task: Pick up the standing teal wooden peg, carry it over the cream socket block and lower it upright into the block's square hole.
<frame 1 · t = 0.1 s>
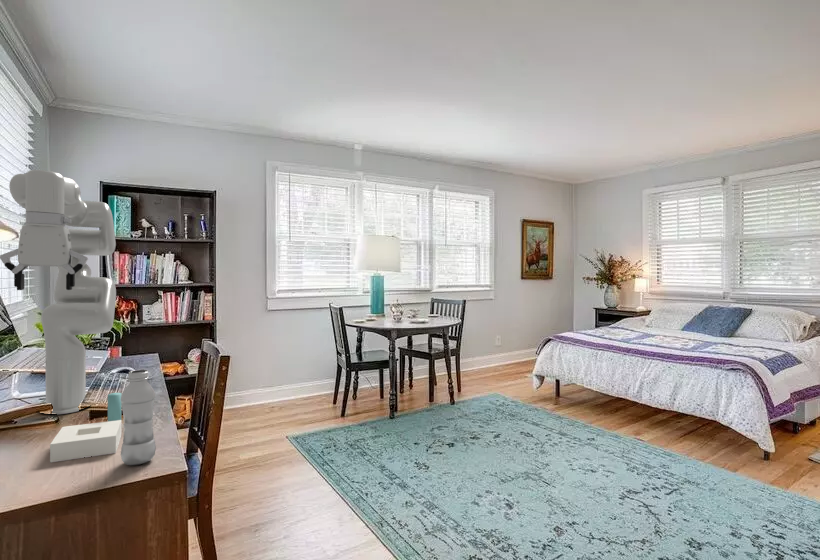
hand: (45, 289, 113), 37 cm above the table, tool pointing down, fingers open, 9 cm apart
hole block: (88, 448, 106), on the table
peg: (114, 430, 117), on the table
plastic bottle: (138, 463, 98), on the table
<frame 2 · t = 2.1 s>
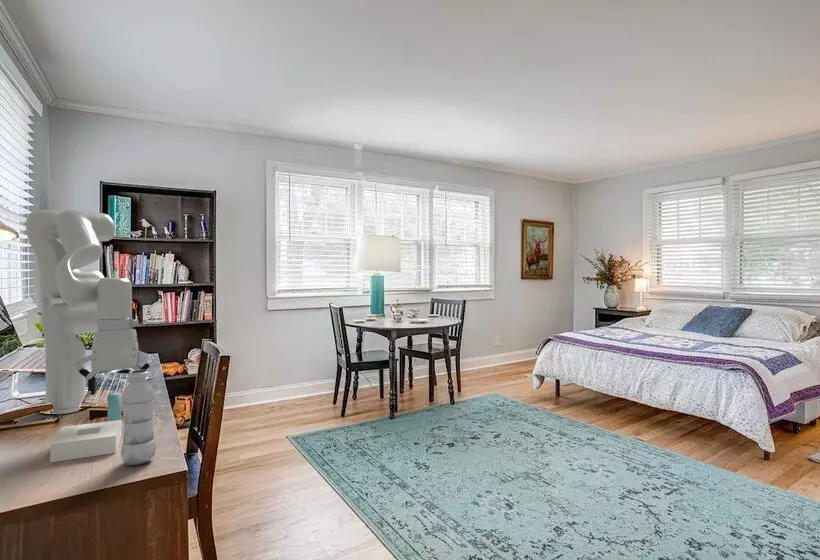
hand: (116, 391, 117), 10 cm above the table, tool pointing down, fingers open, 9 cm apart
nothing on the table moved.
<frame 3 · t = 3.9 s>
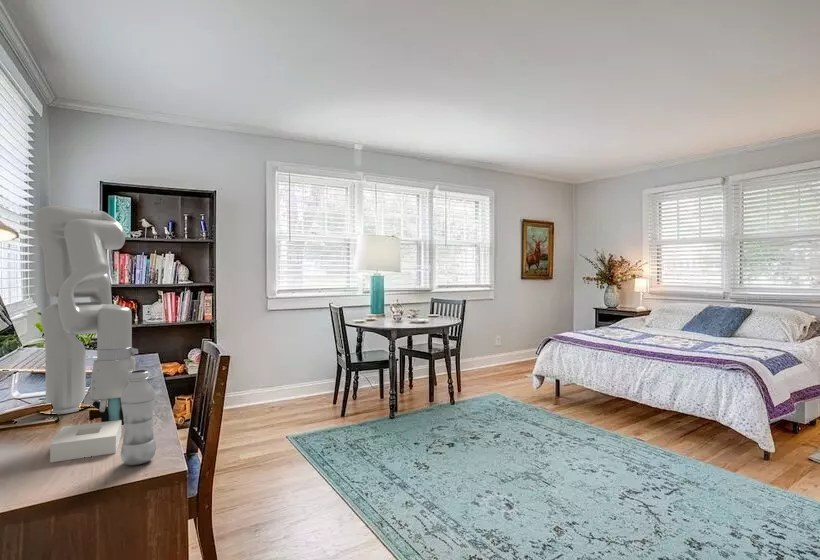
hand: (114, 423, 117), 2 cm above the table, tool pointing down, fingers closed on peg, 3 cm apart
peg: (114, 430, 117), on the table, touching gripper
everything else where it was.
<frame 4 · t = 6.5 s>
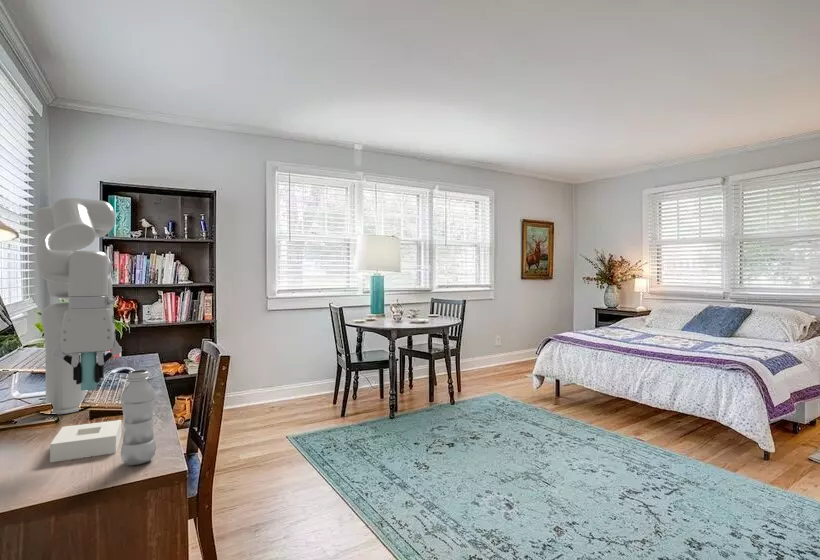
hand: (88, 381, 105), 16 cm above the table, tool pointing down, fingers closed on peg, 3 cm apart
peg: (88, 388, 105), point 14 cm above the table, touching gripper
everything else where it was.
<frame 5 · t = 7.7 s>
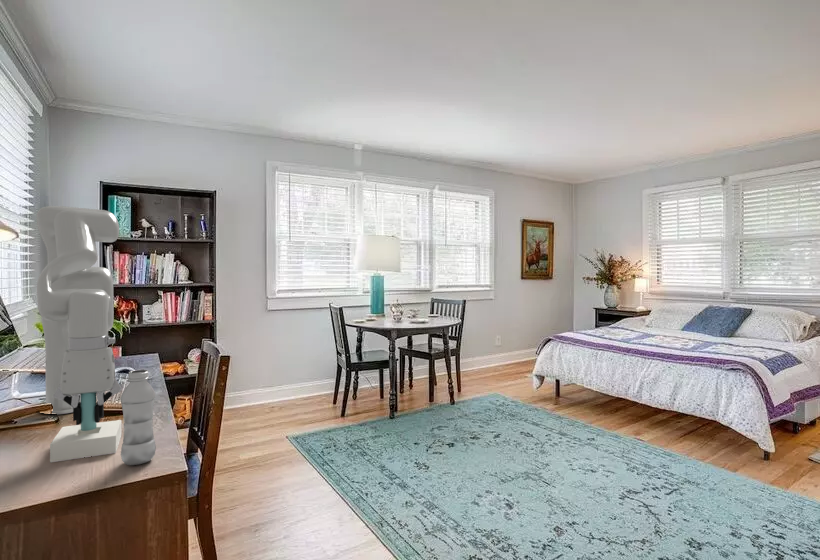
hand: (88, 421, 106), 6 cm above the table, tool pointing down, fingers closed on peg, 3 cm apart
peg: (88, 428, 106), point 5 cm above the table, touching gripper
everything else where it was.
when the fingers open (4 cm above the table, at t = 8.9 s): peg drops 3 cm, resting in hole block.
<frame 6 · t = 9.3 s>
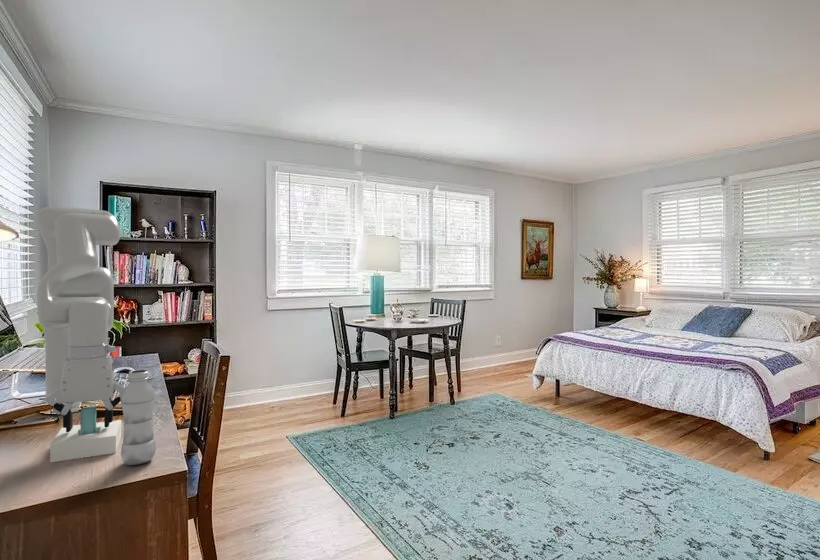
hand: (88, 427, 106), 5 cm above the table, tool pointing down, fingers open, 6 cm apart
peg: (88, 448, 106), resting in hole block
everything else where it was.
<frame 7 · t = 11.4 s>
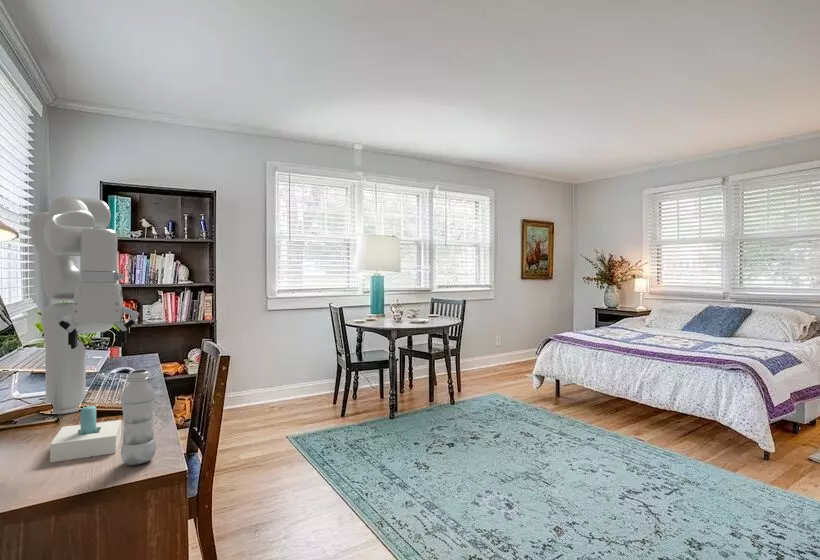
hand: (97, 346, 112), 23 cm above the table, tool pointing down, fingers open, 9 cm apart
nothing on the table moved.
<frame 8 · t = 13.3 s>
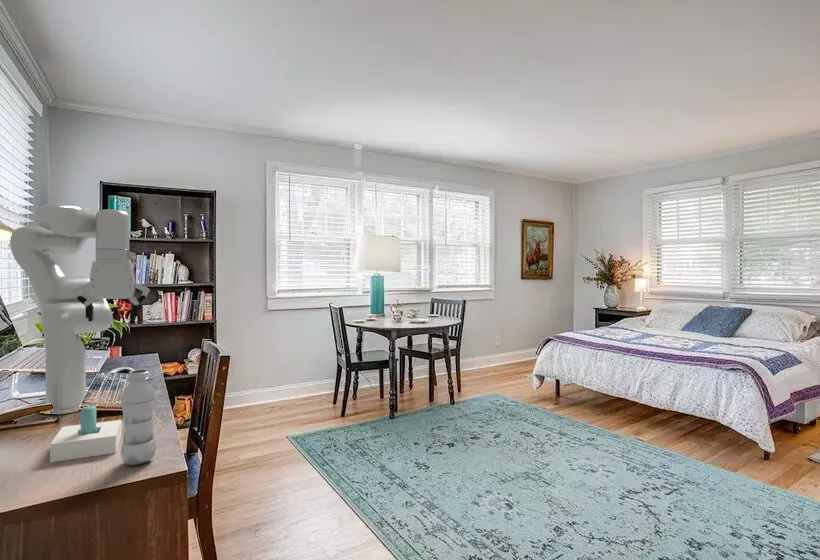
hand: (112, 320, 121), 28 cm above the table, tool pointing down, fingers open, 9 cm apart
nothing on the table moved.
at the end: peg 0.0 cm off-centre in the hole block, point 0.0 cm above the hole block's base; peg tilted 0°; the gripper is holding nothing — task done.
